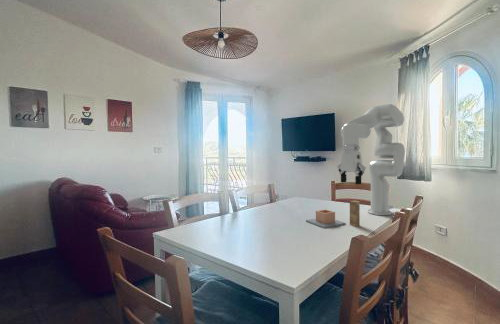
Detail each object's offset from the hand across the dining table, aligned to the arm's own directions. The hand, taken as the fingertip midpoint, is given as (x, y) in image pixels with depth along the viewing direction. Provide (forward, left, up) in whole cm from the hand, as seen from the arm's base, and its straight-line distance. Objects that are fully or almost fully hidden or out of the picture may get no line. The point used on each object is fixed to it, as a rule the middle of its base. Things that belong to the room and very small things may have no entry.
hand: (350, 183), depth 131 cm
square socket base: (+9, -9, -21) cm, 24 cm away
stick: (-1, +1, -21) cm, 21 cm away
